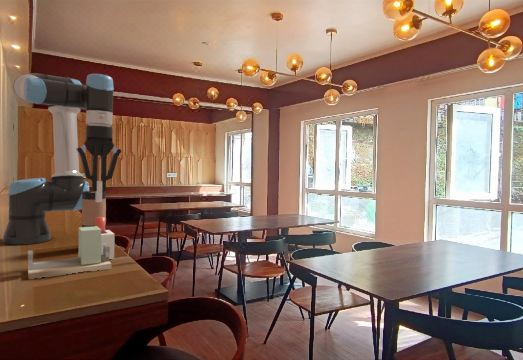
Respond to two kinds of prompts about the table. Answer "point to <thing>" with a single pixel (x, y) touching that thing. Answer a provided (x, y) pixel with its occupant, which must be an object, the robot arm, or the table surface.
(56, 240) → the table surface
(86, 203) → the travel mug
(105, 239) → the hollow box
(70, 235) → the table surface
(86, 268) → the rail
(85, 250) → the carriage
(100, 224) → the button
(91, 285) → the table surface
